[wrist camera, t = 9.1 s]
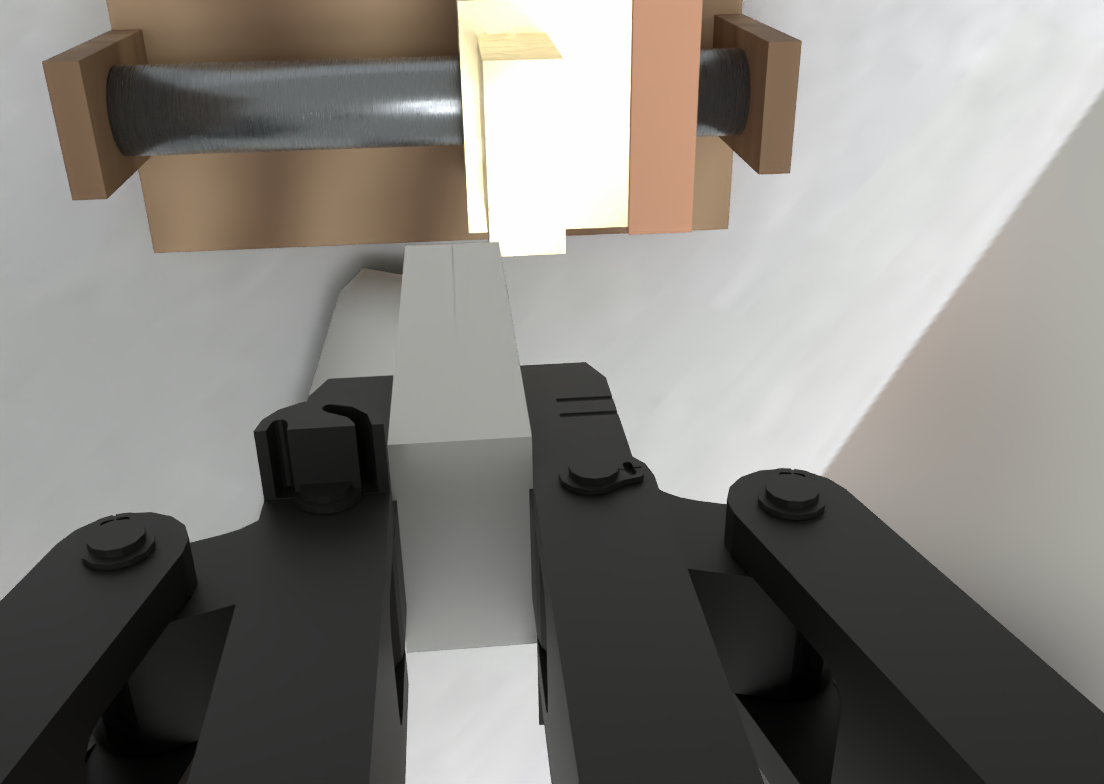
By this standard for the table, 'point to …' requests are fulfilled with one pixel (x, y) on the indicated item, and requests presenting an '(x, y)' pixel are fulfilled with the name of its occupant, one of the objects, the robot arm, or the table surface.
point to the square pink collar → (663, 114)
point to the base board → (349, 174)
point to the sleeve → (545, 118)
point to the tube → (362, 329)
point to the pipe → (338, 104)
